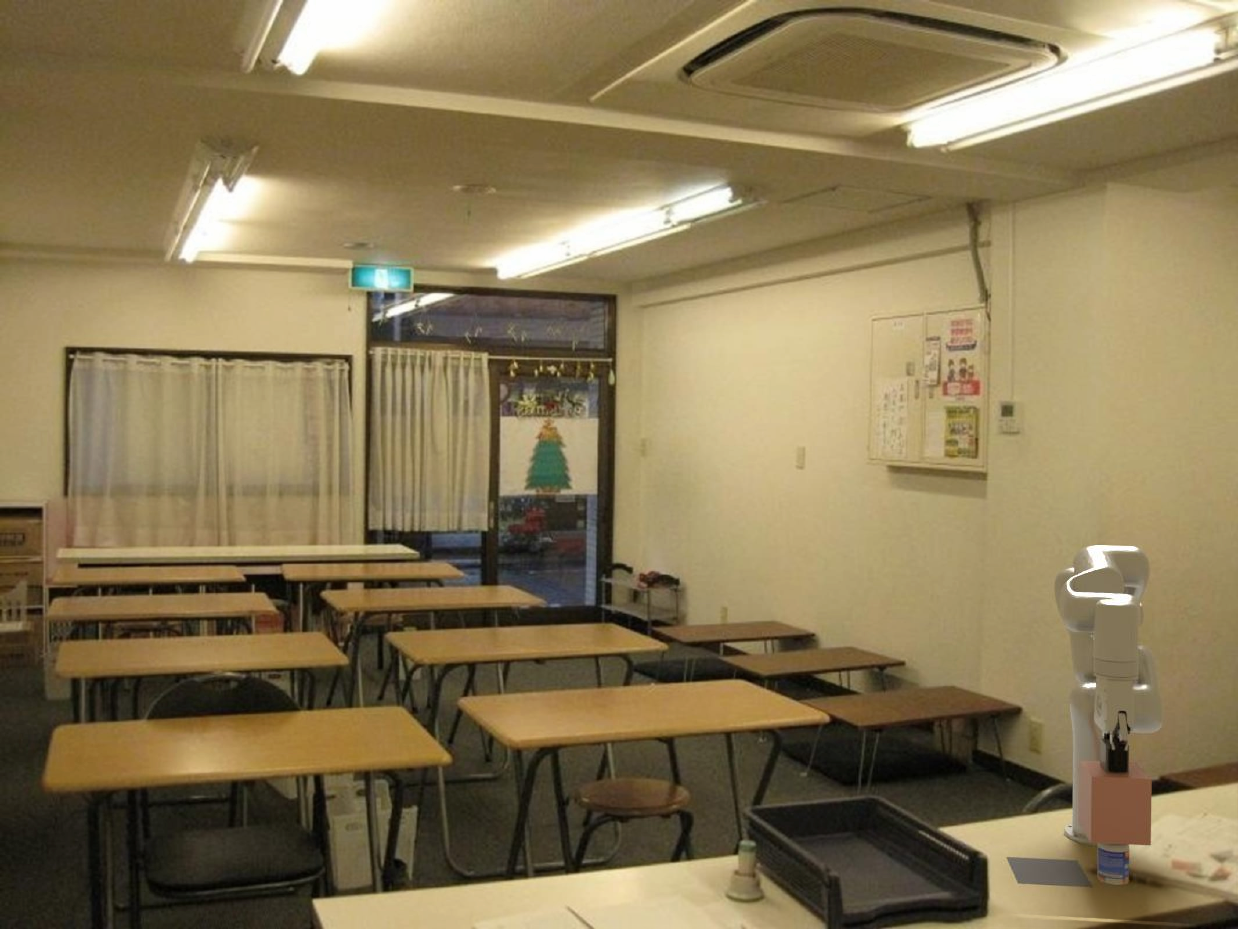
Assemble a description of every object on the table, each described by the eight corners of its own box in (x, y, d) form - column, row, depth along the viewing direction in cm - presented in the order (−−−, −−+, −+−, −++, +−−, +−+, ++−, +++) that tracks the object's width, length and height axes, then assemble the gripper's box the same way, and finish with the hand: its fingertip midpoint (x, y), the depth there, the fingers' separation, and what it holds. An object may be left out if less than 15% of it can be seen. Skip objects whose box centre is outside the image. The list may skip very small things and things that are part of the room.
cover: (1078, 823, 228) (1079, 734, 228) (1135, 826, 227) (1136, 736, 226) (1090, 842, 218) (1091, 749, 218) (1150, 845, 217) (1152, 751, 216)
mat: (1006, 859, 234) (1006, 857, 234) (1077, 863, 232) (1077, 860, 232) (1018, 885, 221) (1018, 883, 221) (1092, 889, 219) (1092, 887, 219)
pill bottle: (1131, 888, 220) (1132, 835, 220) (1099, 886, 221) (1100, 833, 221) (1125, 877, 225) (1126, 825, 225) (1094, 874, 226) (1095, 823, 226)
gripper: (1083, 658, 230) (1082, 754, 231) (1105, 677, 214) (1104, 780, 214) (1125, 659, 229) (1124, 756, 230) (1150, 678, 212) (1148, 782, 213)
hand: (1114, 766), depth 222 cm, fingers closed on cover, 4 cm apart
